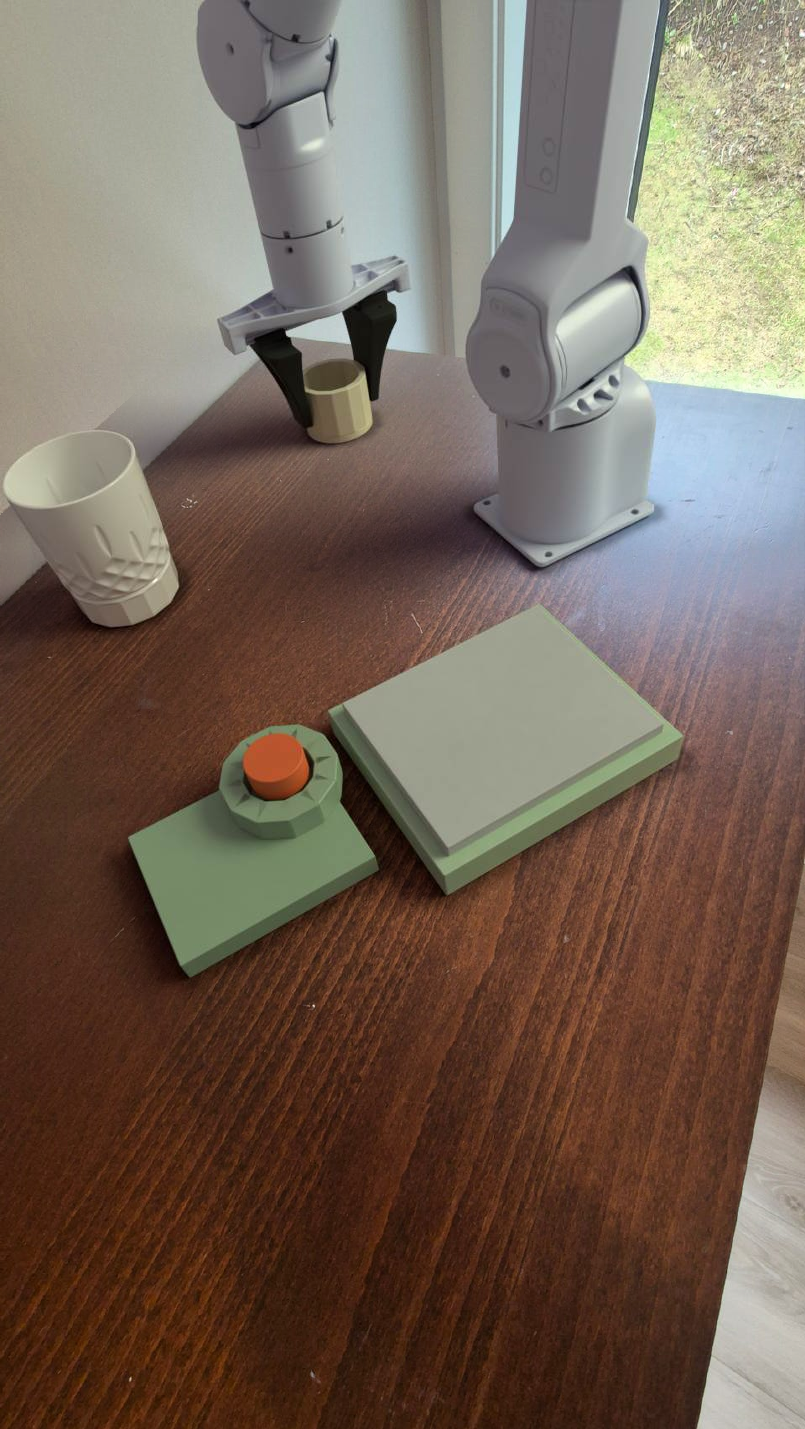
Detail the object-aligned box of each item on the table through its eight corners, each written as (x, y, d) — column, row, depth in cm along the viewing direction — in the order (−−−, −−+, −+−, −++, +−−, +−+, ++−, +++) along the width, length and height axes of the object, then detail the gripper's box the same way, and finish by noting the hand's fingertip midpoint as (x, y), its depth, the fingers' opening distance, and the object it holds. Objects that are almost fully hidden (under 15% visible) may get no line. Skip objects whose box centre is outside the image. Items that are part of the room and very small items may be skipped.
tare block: (317, 742, 45) (305, 707, 43) (396, 860, 40) (388, 828, 38) (131, 837, 43) (109, 806, 40) (189, 978, 37) (167, 951, 35)
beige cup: (353, 399, 68) (344, 351, 65) (385, 427, 65) (377, 377, 62) (296, 423, 67) (284, 374, 64) (325, 452, 64) (314, 402, 61)
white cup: (162, 638, 52) (99, 509, 45) (54, 631, 54) (-25, 506, 46) (204, 558, 57) (155, 429, 49) (104, 554, 59) (41, 429, 51)
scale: (538, 627, 49) (539, 592, 47) (678, 759, 42) (686, 725, 40) (333, 733, 46) (323, 700, 43) (446, 896, 38) (442, 867, 36)
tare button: (294, 742, 42) (287, 723, 41) (319, 781, 40) (313, 763, 39) (241, 769, 41) (232, 750, 40) (264, 810, 40) (256, 792, 38)
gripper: (367, 177, 59) (391, 359, 69) (181, 239, 55) (236, 420, 66) (416, 201, 55) (434, 391, 65) (219, 270, 51) (270, 459, 62)
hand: (337, 408), depth 65 cm, fingers closed on beige cup, 5 cm apart
